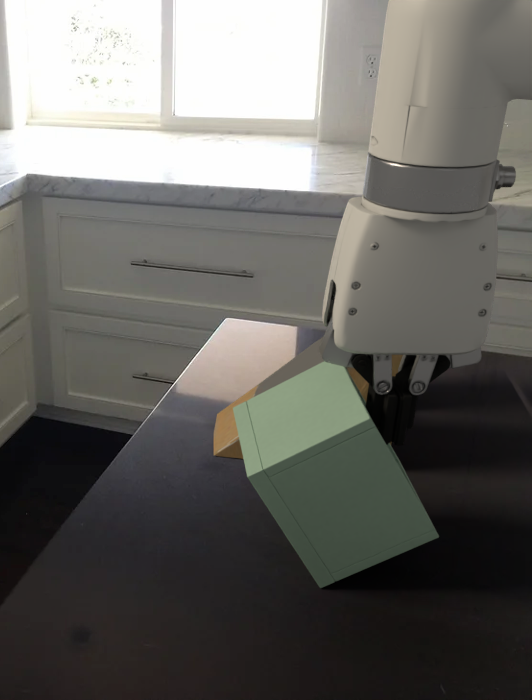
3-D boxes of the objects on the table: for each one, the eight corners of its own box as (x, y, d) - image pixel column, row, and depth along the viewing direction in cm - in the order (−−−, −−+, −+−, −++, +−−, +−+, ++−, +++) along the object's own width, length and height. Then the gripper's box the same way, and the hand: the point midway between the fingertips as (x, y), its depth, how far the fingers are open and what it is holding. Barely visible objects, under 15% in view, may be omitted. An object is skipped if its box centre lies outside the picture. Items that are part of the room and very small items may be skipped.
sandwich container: (215, 412, 87) (224, 270, 80) (376, 425, 84) (397, 279, 78) (211, 456, 79) (220, 303, 73) (387, 472, 76) (412, 314, 70)
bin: (399, 461, 69) (337, 353, 66) (439, 537, 60) (370, 417, 56) (297, 508, 71) (232, 407, 68) (320, 588, 62) (247, 477, 59)
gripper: (522, 171, 58) (472, 412, 66) (296, 171, 59) (272, 409, 66) (575, 199, 51) (513, 465, 59) (319, 199, 52) (290, 461, 60)
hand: (385, 434), depth 63 cm, fingers closed
